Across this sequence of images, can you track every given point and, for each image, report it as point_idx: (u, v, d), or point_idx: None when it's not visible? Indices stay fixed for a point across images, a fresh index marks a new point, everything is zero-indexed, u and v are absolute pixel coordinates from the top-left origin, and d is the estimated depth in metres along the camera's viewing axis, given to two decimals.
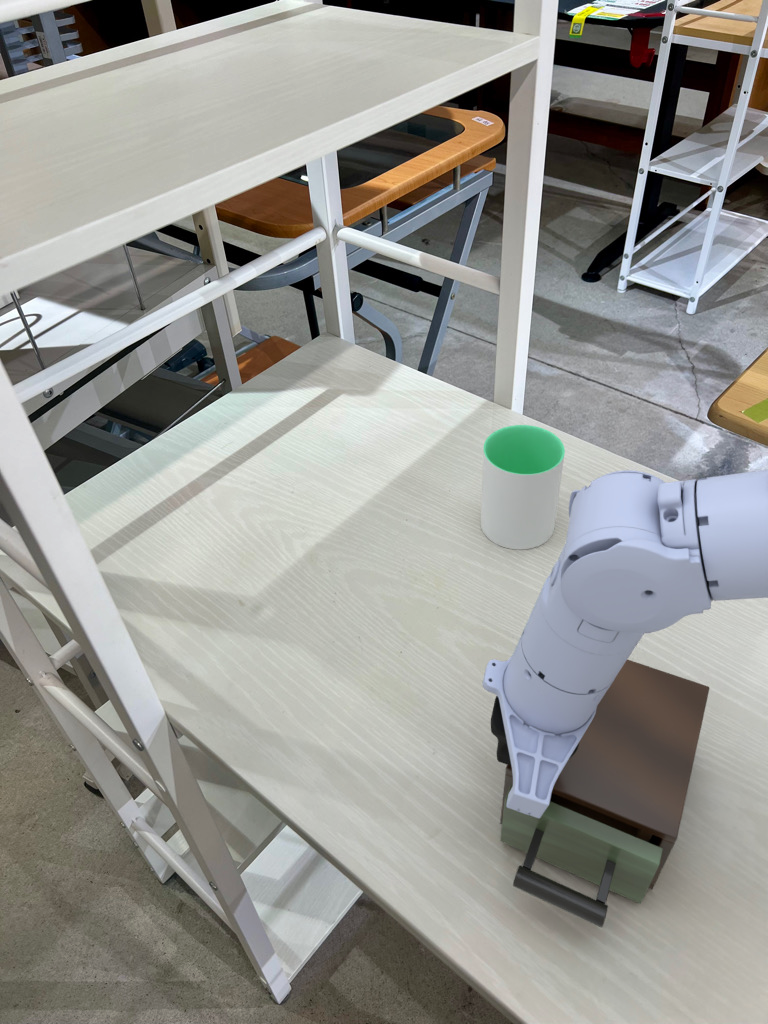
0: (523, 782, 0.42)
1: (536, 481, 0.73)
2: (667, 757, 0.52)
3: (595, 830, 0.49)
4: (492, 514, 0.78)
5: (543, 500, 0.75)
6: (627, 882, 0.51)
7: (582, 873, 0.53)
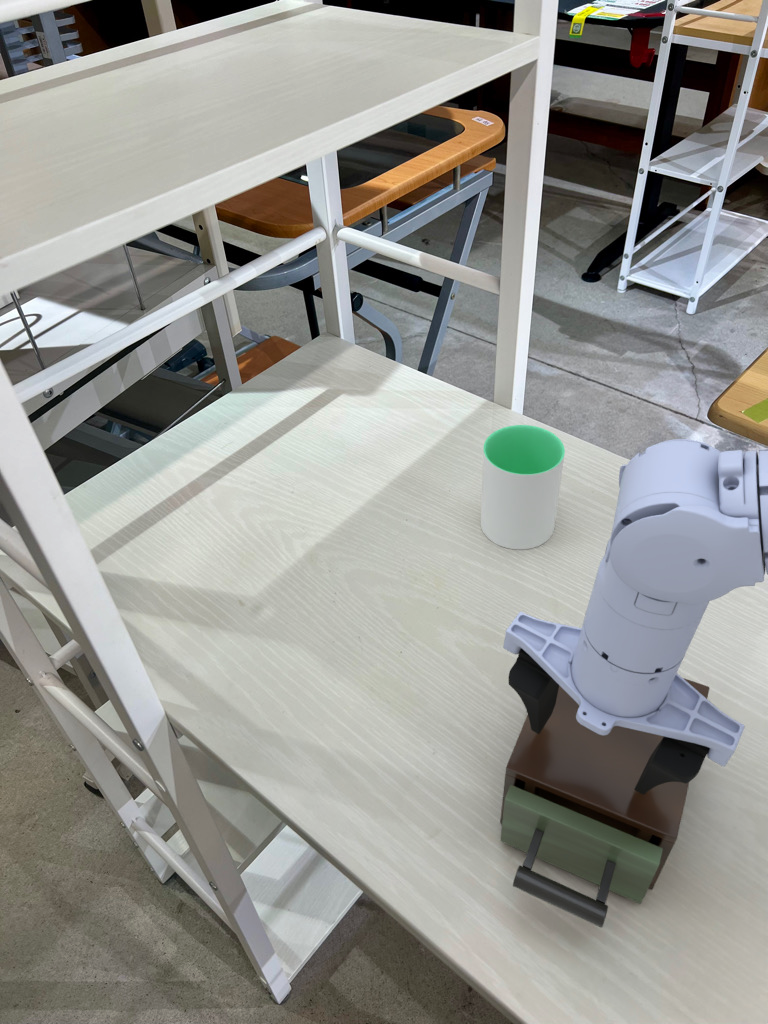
0: (716, 739, 0.43)
1: (536, 481, 0.73)
2: None
3: (595, 830, 0.49)
4: (492, 514, 0.78)
5: (543, 500, 0.75)
6: (627, 882, 0.51)
7: (582, 873, 0.53)
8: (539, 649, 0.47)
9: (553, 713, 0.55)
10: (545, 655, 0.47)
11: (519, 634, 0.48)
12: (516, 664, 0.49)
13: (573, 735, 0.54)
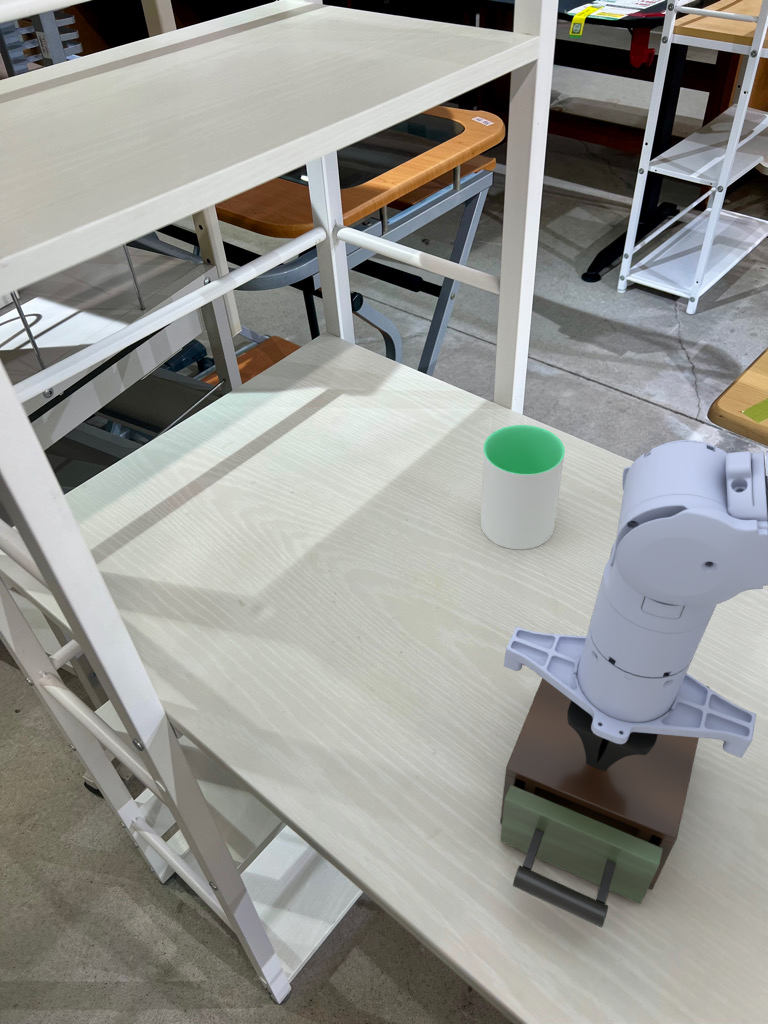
0: (731, 731, 0.43)
1: (536, 481, 0.73)
2: (667, 757, 0.52)
3: (595, 830, 0.49)
4: (492, 514, 0.78)
5: (543, 500, 0.75)
6: (627, 882, 0.51)
7: (582, 873, 0.53)
8: (542, 663, 0.46)
9: (553, 713, 0.55)
10: (549, 669, 0.46)
11: (519, 650, 0.47)
12: (573, 702, 0.46)
13: (573, 735, 0.54)
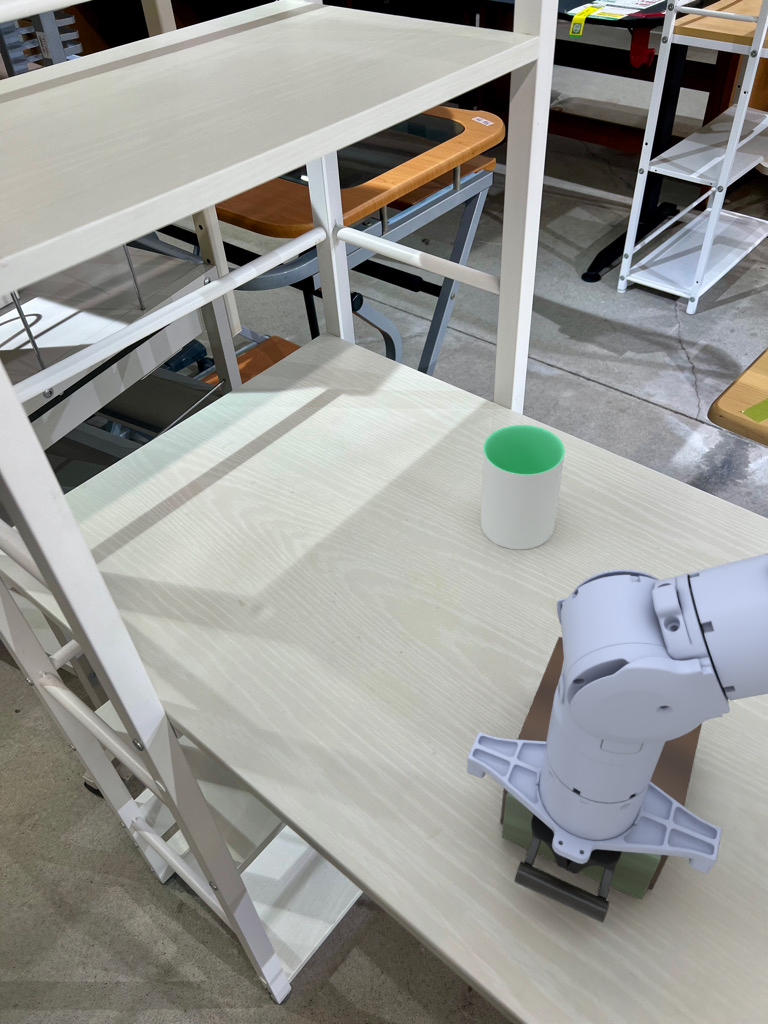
0: (696, 847, 0.41)
1: (536, 481, 0.73)
2: (667, 757, 0.52)
3: None
4: (492, 514, 0.78)
5: (543, 500, 0.75)
6: (628, 878, 0.51)
7: (583, 869, 0.54)
8: (504, 772, 0.45)
9: None
10: (511, 779, 0.45)
11: (481, 758, 0.46)
12: None
13: None
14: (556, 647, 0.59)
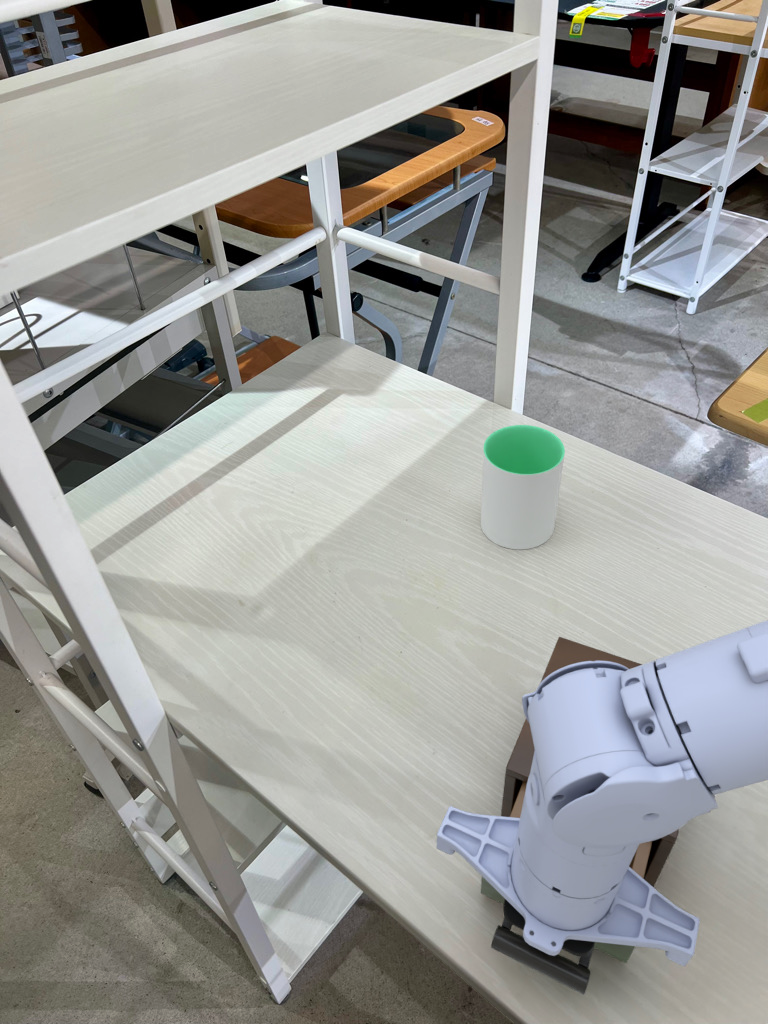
0: (672, 939, 0.40)
1: (536, 481, 0.73)
2: None
3: None
4: (492, 514, 0.78)
5: (543, 500, 0.75)
6: None
7: None
8: (475, 851, 0.43)
9: None
10: (482, 859, 0.43)
11: (451, 834, 0.44)
12: None
13: None
14: (556, 647, 0.59)
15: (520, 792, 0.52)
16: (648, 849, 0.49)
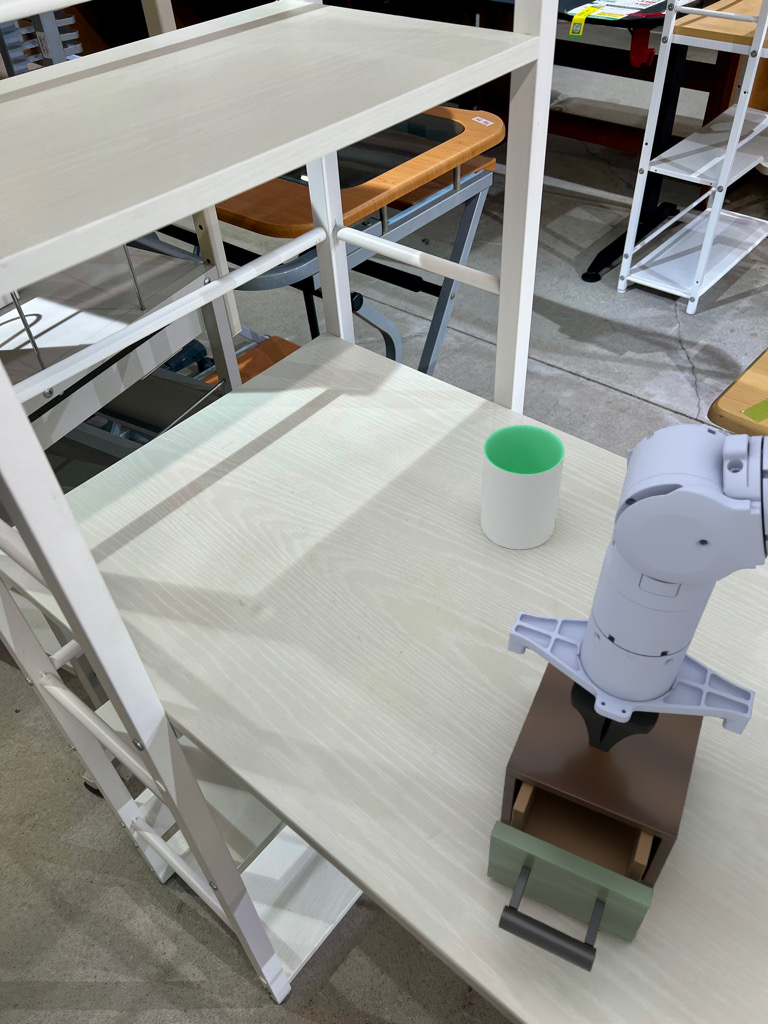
0: (730, 708, 0.44)
1: (536, 481, 0.73)
2: (667, 757, 0.52)
3: (583, 869, 0.48)
4: (492, 514, 0.78)
5: (543, 500, 0.75)
6: (617, 922, 0.49)
7: (571, 911, 0.52)
8: (545, 646, 0.47)
9: (553, 713, 0.55)
10: (552, 651, 0.47)
11: (523, 634, 0.48)
12: (576, 683, 0.47)
13: (573, 735, 0.54)
14: None
15: None
16: None
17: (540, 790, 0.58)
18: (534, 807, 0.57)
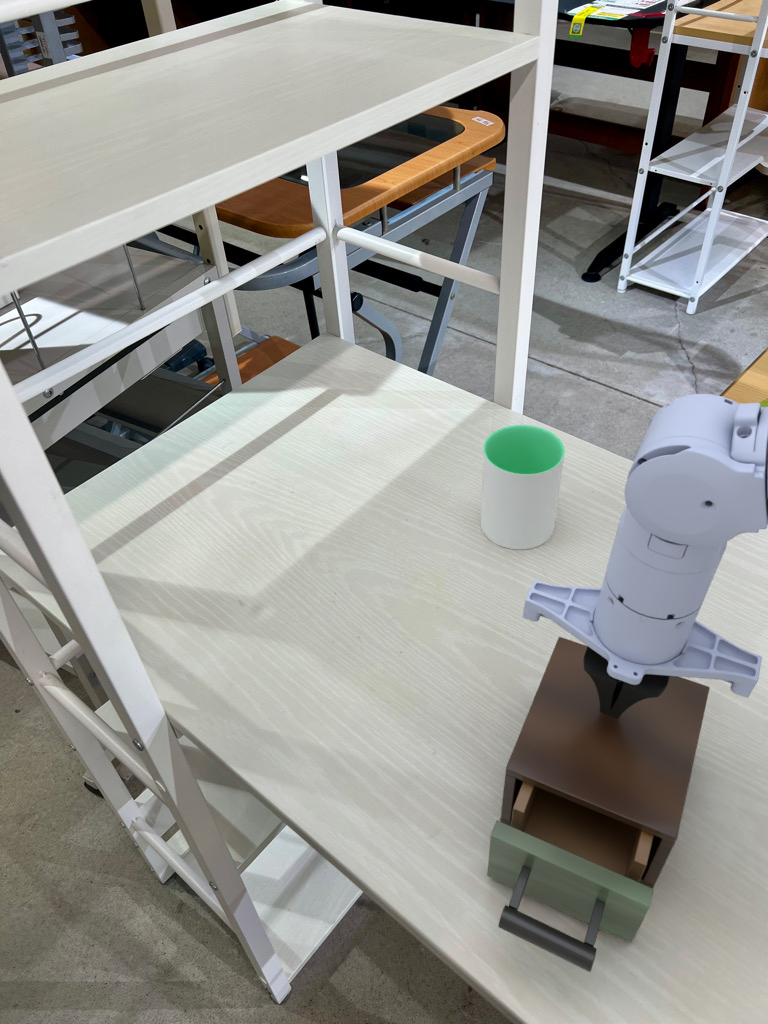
0: (738, 672, 0.45)
1: (536, 481, 0.73)
2: (667, 757, 0.52)
3: (583, 869, 0.48)
4: (492, 514, 0.78)
5: (543, 500, 0.75)
6: (617, 922, 0.49)
7: (571, 911, 0.52)
8: (559, 613, 0.49)
9: (553, 713, 0.55)
10: (566, 618, 0.49)
11: (537, 601, 0.50)
12: (588, 649, 0.49)
13: (573, 735, 0.54)
14: (556, 647, 0.59)
15: None
16: None
17: (540, 790, 0.58)
18: (534, 807, 0.57)
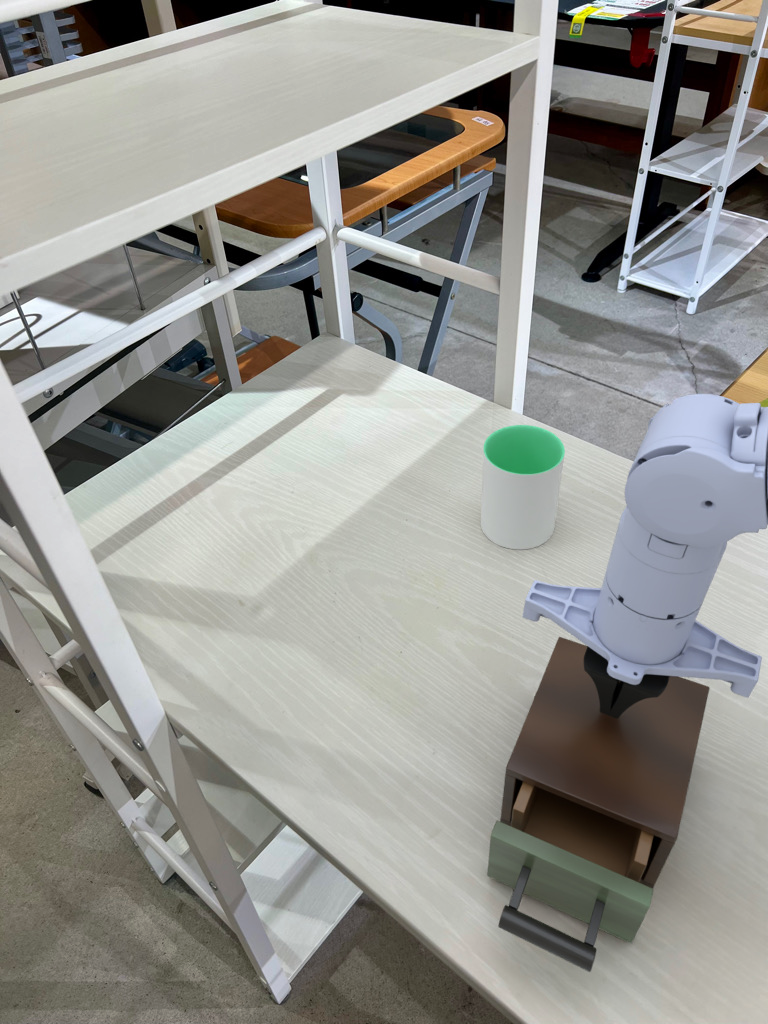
0: (738, 672, 0.45)
1: (536, 481, 0.73)
2: (667, 757, 0.52)
3: (583, 869, 0.48)
4: (492, 514, 0.78)
5: (543, 500, 0.75)
6: (617, 922, 0.49)
7: (571, 911, 0.52)
8: (559, 613, 0.49)
9: (553, 713, 0.55)
10: (566, 618, 0.49)
11: (537, 601, 0.50)
12: (588, 649, 0.49)
13: (573, 735, 0.54)
14: (556, 647, 0.59)
15: None
16: None
17: (540, 790, 0.58)
18: (534, 807, 0.57)
